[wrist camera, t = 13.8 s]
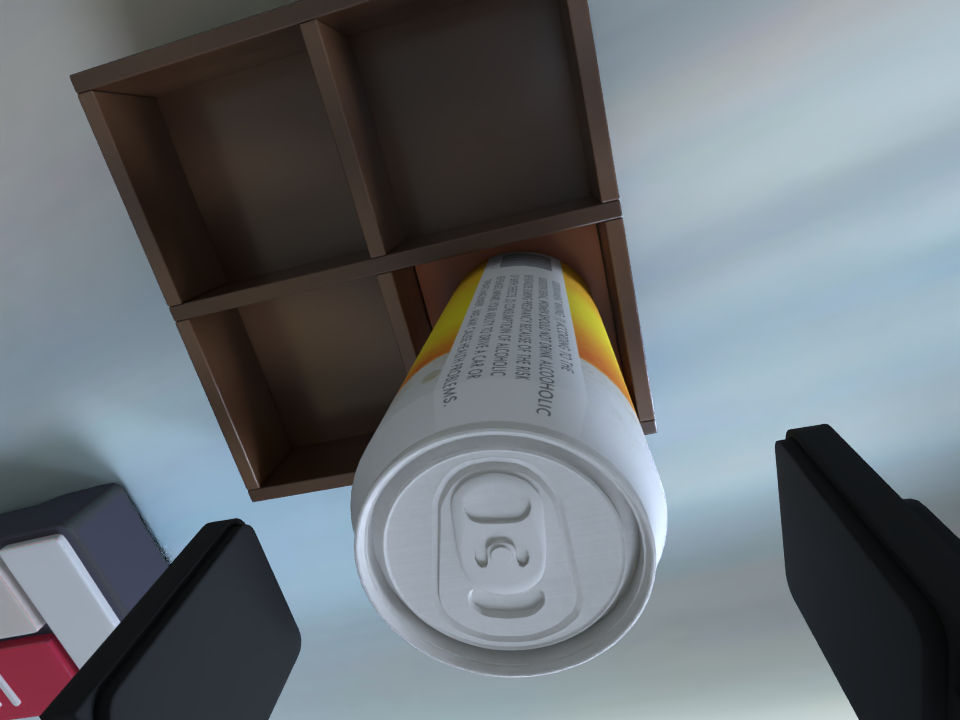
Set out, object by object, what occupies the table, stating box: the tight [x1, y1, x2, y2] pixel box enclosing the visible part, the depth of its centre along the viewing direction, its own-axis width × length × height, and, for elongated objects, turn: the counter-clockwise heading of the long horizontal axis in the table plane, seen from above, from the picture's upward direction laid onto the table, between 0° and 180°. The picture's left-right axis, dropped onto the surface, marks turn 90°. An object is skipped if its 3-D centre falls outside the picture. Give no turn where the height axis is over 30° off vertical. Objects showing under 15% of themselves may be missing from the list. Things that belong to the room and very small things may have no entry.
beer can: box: [351, 251, 667, 677], centre depth 17 cm, size 6×6×15 cm
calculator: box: [0, 483, 169, 720], centre depth 31 cm, size 11×4×15 cm
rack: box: [70, 0, 657, 502], centre depth 23 cm, size 17×17×4 cm
